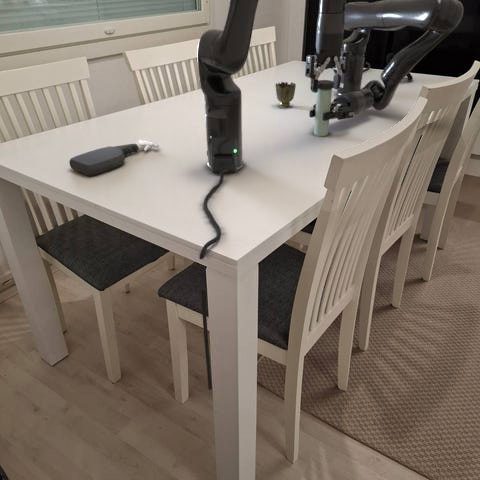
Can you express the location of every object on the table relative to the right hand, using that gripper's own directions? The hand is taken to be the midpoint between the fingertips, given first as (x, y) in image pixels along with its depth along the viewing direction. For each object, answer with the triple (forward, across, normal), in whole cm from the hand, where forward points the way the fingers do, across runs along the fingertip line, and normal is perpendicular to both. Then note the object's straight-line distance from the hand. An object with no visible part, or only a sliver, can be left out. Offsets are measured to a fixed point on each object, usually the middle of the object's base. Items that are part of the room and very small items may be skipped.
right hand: (317, 115), depth 136 cm
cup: (-18, -29, +6) cm, 35 cm away
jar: (-3, 0, +6) cm, 7 cm away
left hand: (-3, 0, -7) cm, 8 cm away
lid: (-3, 0, -9) cm, 10 cm away
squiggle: (-85, -19, +6) cm, 88 cm away
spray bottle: (+54, -28, +6) cm, 61 cm away
